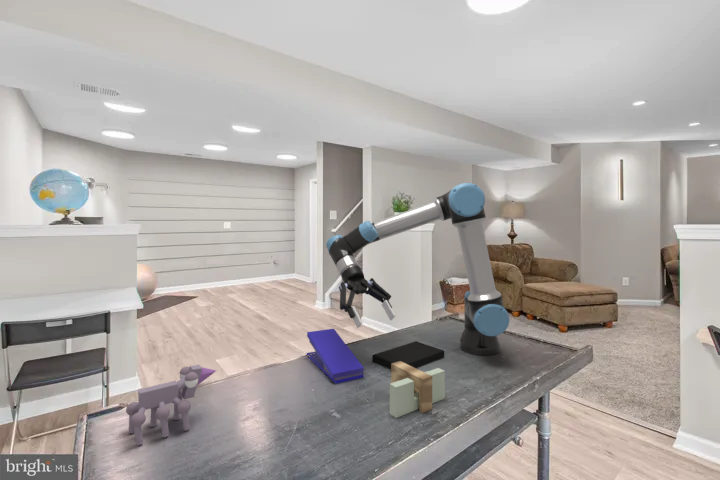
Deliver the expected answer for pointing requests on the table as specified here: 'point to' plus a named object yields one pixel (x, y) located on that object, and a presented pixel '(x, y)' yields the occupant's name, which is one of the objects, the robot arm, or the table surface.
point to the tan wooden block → (415, 382)
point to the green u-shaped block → (407, 400)
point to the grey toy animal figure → (166, 401)
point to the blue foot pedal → (334, 356)
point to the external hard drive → (409, 355)
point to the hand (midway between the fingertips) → (377, 321)
